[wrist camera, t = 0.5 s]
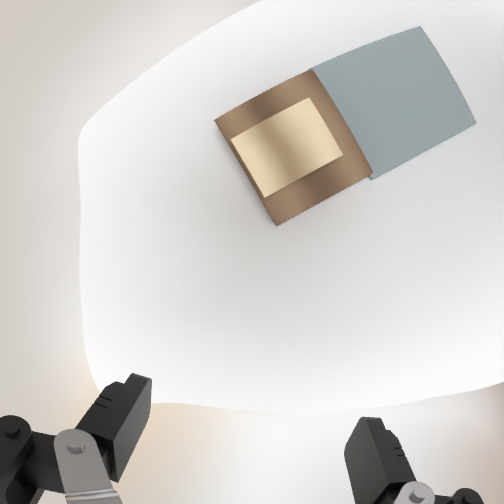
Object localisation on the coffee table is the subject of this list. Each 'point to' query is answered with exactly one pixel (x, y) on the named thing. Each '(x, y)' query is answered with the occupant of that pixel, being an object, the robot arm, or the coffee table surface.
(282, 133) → the oak tile
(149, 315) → the coffee table surface
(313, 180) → the block
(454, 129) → the grey mat
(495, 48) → the coffee table surface
